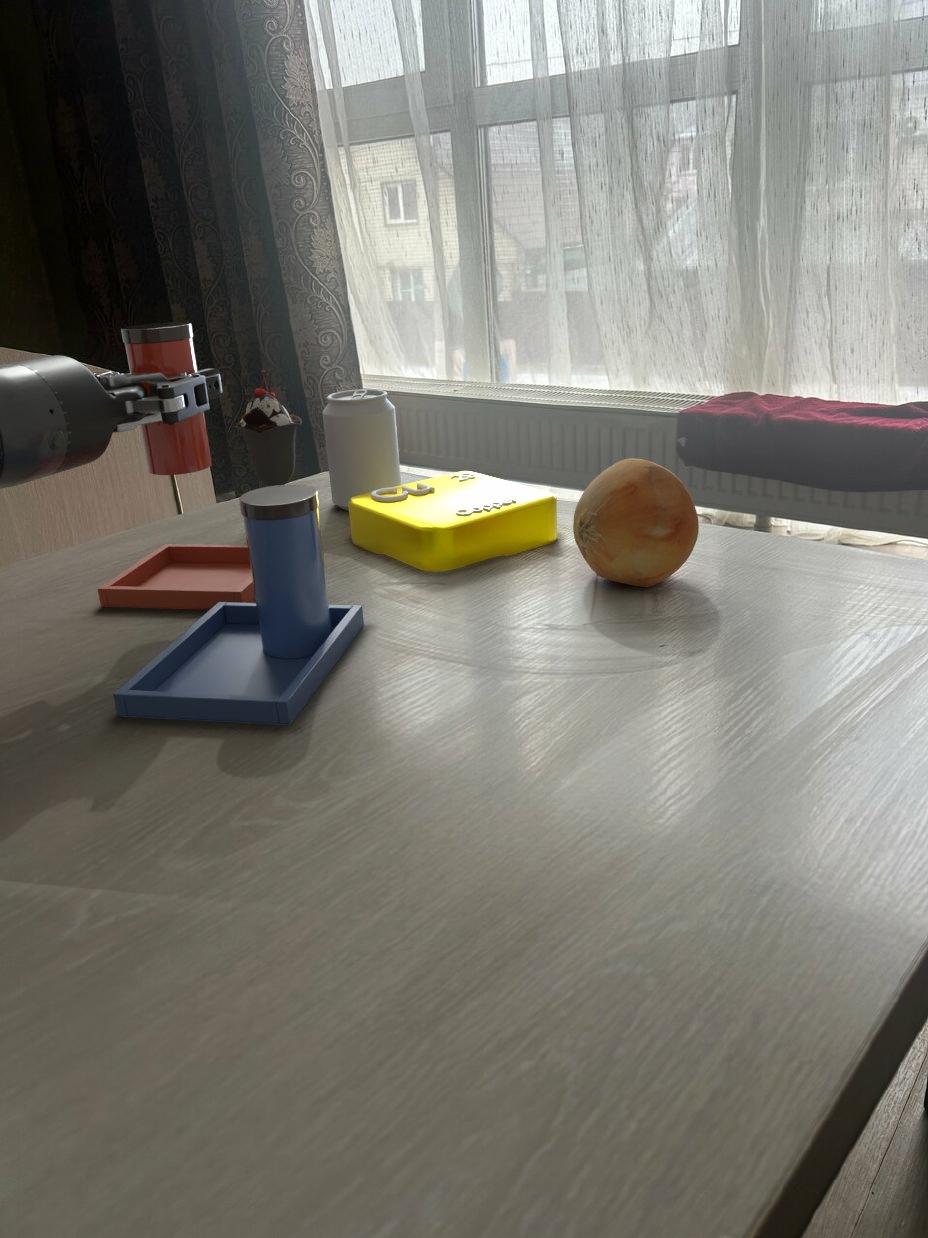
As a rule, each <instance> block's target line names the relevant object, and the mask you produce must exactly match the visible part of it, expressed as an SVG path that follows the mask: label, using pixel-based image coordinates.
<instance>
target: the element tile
mask: <svg viewBox="0 0 928 1238" xmlns="http://www.w3.org/2000/svg"><path fill="white" fill-rule="evenodd" d="M557 498H558V497H557V496H556V495H555V494H553V493H552V492H549V491H545V490H543V489H538V488H534V487H531V486H527V485H523V484H520V483H516V482H512V481H508V480H504V479H501V478H497V477H493V476H491V475H487V474H483V473H479V472H474V471H470V470H461V471H457V472H452V473H448V474H444V475H439V476H434V477H430V478H427V479H422V480H417V481H414V482H409V483H405V484H401V485H400V486H396V487H392V488H381V489H377V490H374V491H372V492H371V493H366V494H362V495H358V496H354V497H352V498H351V499H350V500H349V502H348V506H349V511H348V514H349V523H350V525H349V526H350V533H351V535H350V536H351V540H352V543H353V545H355V546H357V547H360V548H362V549H364V550H367V551H369V552H371V553H373V554H375V555H378V554H379V555H385V556H387V557H389V558H392V559H394V560H397V561H399V562H401V563H404V564H407V565H409V566H411V567H413V568H415V569H418V570H420V571H423V572H424V571H425V572H434V573H435V572H436V573H438V572H448V571H452V570H456V569H460V568H462V567H465V566H469V565H473V564H475V563H479V562H483V561H487V560H489V559H493V558H496V557H500V556H514V555H518V554H521V553H524V552H527V551H530V550H533V549H536V548H540V547H544V546H546V545H550V544H552V543H554V542H555V541H556V540H557V538H558V509H557V508H558V501H557Z"/></svg>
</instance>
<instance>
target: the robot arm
mask: <svg viewBox="0 0 928 1238" xmlns="http://www.w3.org/2000/svg"><path fill="white" fill-rule="evenodd" d="M143 382H147V383H148V384H149V388H150V394H151V397H148V393H147V389H146V387H145V386H144V385H142V383H143ZM223 393H224V391H223V386H222V378H221V374H220V371H219V369H217V368H205V369H200V370H197V371H196V372H192V373H187V374H186V373H179V375H173V376H166V377H165V376H164V375H163V374H162V373H157V372H146V373H140V374H133V375H130V372H129V373H119V371H113V372H112V371H95V372H92V371H91V370H90V369H89V368H88V367H87V366H85V364H83V363H81V362H80V361H78V360H76V359H74V358H72V357H70V356H67V355H59V354H57V355H56V354H54V355H49V356H41V357H35V358H31V359H24V360H20V361H19V360H18V361H13V362H7V363H3V364H0V489H7V488H12V487H13V488H14V487H16V486H20V485H24V484H26V483H27V484H28V483H30V482H33V481H37V480H39V479H40V480H41V479H42V478H46V477H49V476H53V475H56V474H58V473H62V472H66V471H68V470H72V469H76V468H79V467H82V466H85V465H88V464H91V463H94V462H95V461H97V460H98V459H99V458H100V457H102V456H103V454H104V453H105V452H106V451H107V448H108V447H109V445H110V442H111V439H112V436H113V434H114V433H123V432H129V431H134V430H135V429H137V427H138V426H140V425H142V424H147V423H152V422H158V421H162V423H164V424H168V425H173V424H175V423H177V422H180V421H182V420H185V419H187V418H190V417H192V416H194V415H197V414H199V413H201V412H204V413H205V412H206V411H208V410H210V403H209V402H210V401H211V400H214V399H218V398H221V396H222V395H223Z"/></svg>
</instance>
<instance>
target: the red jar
mask: <svg viewBox="0 0 928 1238" xmlns="http://www.w3.org/2000/svg"><path fill="white" fill-rule="evenodd" d="M192 324H193V323H192V322H189V321H175V322H172V321H171V322H155V323H146V324H136V325H130V326H129V325H128V326H125V327H124V326H123V327H121V328H120V332H121V336H122V342H123V343H124V347H125V351H126V358H127V363H128V368H129V369H128V370H129V373H130V375H133V374H140V373H146V372H157V373H162V374H163V375H164V376H165V377H166V376H173V375H179V373H186V374H187V373H192V372H196V371H198V365H197V358H196V353H195V344H194V339H193V338H194V331H193V325H192ZM142 385H144V386H145V387H146V389H147V393H148V397H151V394H150V388H149V384H148V383H147V382H143V383H142ZM206 422H207V421H206V416H205V412H201V413H199V414H197V415H194V416H192V417H190V418H187V419H185V420H182V421H180V422H177V423H175V424H173V425H168V424H164V423H162V421H158V422H152V423H147V424H142V425H139V429H140V434H141V441H142V446H143V451H144V457H145V462H146V467H147V468H146V469H147V472H148V473H149V474H151V475H155V476H179V475H186V474H192V473H197V472H200V471H204V470H207V469H209V468H210V467H212V465H213V462H212V453H211V448H210V441H209V435H208V430H207V423H206Z"/></svg>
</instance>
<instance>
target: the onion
mask: <svg viewBox="0 0 928 1238" xmlns="http://www.w3.org/2000/svg"><path fill="white" fill-rule="evenodd" d="M572 525H573V526H572V527H573V528H572V530H573V531H572V532H573V538H574V541H575V544H576V546H577V548H578V550H579V552H580V554H581V555H582V558H583V559H584V561H585V562H586V564H587V565H588V566H589V568H590V569H591V570H592V571H593V572H594V573H595V574H596V575H597V576H598V577H601V578H603V579H606V580H609V581H611V582H615V583H620V584H625V585H628V586H634V587H638V588H639V587H640V588H651V587H653V586H655V585H657V584H659V583H662V582H663V581H665V580H666V579H668V578H670V577H671V576H672V575H674V574H675V573H676V572H677V571H678V570H680V569H681V567H683V565H684V564H685V563H686V562H687V561H688V560H689V558H690V556H691V555H692V552H693V550H694V548H695V547H696V543H697V541H698V538H699V529H700V527H699V516H698V512H697V509H696V505H695V502H694V500H693V498H692V496H691V494H690V492H689V491H688V489H687V486H686V485H685V484H684V482H683V481H682V480H681V479H680V478H679V477H678V476H677V475H676V474H675V473H673V472H672V471H670V470H669V469H667V467H664V466H662V465H660V464H658V463H656V462H653V461H650V460H647V459H642V458H636V457H634V458H633V457H627V458H624V459H621V460H618V461H617V462H615V463H613V464H611V466H609V467H607V468H606V469H604V470H603V471H602V472H600V473H599V474H598V475H597V476H596V477H595V478H594V479H593V480H592V481H591V482H590V483H589V484H588V485H587V487H586V488H585V490H584V492H583V493H582V494H581V496H580V498H579V500H578V502H577V504H576V506H575V509H574V513H573V523H572Z"/></svg>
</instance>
